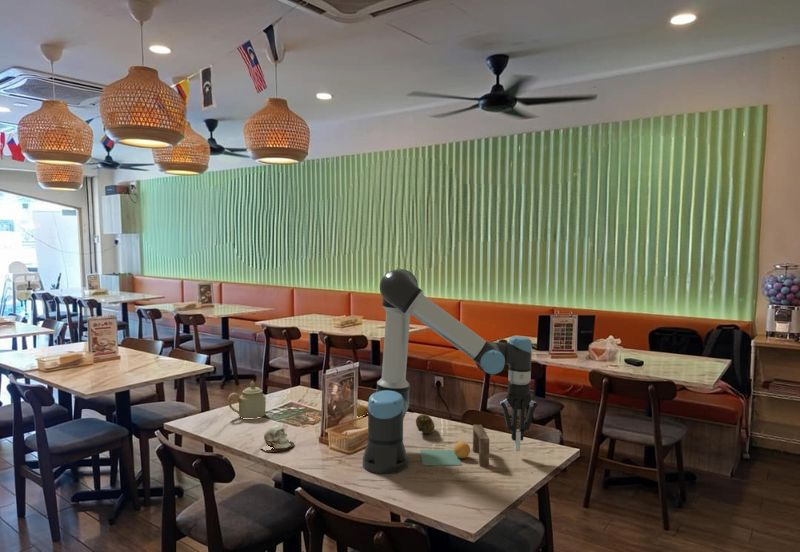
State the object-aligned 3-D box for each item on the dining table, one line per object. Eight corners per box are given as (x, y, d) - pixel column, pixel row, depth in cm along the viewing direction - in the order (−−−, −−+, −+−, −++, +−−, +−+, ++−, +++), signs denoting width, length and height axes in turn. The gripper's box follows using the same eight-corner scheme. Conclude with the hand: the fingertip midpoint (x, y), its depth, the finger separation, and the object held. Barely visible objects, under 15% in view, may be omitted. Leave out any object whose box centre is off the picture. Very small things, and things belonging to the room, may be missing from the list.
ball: (469, 462, 179) (453, 458, 178) (466, 456, 184) (451, 452, 184) (473, 447, 179) (457, 443, 178) (470, 441, 184) (455, 437, 184)
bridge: (479, 466, 174) (480, 438, 174) (472, 449, 189) (473, 424, 188) (488, 466, 174) (489, 438, 174) (480, 449, 189) (481, 424, 189)
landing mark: (422, 465, 175) (422, 464, 175) (420, 450, 188) (420, 450, 188) (461, 465, 175) (461, 464, 175) (456, 450, 188) (456, 450, 188)
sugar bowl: (245, 423, 215) (245, 387, 214) (226, 419, 220) (226, 383, 219) (271, 414, 228) (271, 380, 227) (252, 410, 233) (252, 376, 232)
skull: (303, 442, 192) (289, 426, 186) (286, 467, 186) (272, 452, 180) (280, 434, 199) (267, 419, 193) (264, 458, 193) (249, 443, 187)
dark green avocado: (442, 430, 210) (442, 410, 210) (428, 439, 199) (428, 419, 198) (423, 426, 214) (423, 407, 213) (408, 436, 203) (408, 415, 202)
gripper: (502, 384, 177) (500, 453, 178) (541, 385, 177) (538, 453, 178) (498, 379, 184) (496, 445, 186) (534, 379, 185) (532, 445, 186)
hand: (516, 449), depth 182 cm, fingers closed
